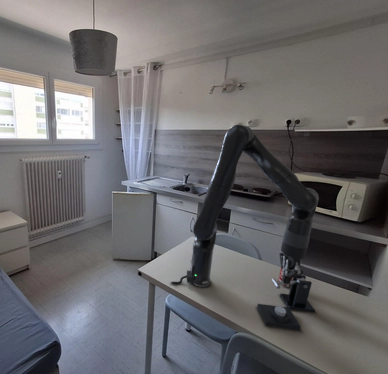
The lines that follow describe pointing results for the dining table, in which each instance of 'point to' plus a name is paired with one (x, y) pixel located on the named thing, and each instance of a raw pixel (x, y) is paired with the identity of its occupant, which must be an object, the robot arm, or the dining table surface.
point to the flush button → (280, 311)
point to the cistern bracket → (298, 296)
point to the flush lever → (285, 284)
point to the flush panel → (278, 317)
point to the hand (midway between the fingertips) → (285, 282)
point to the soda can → (282, 277)
